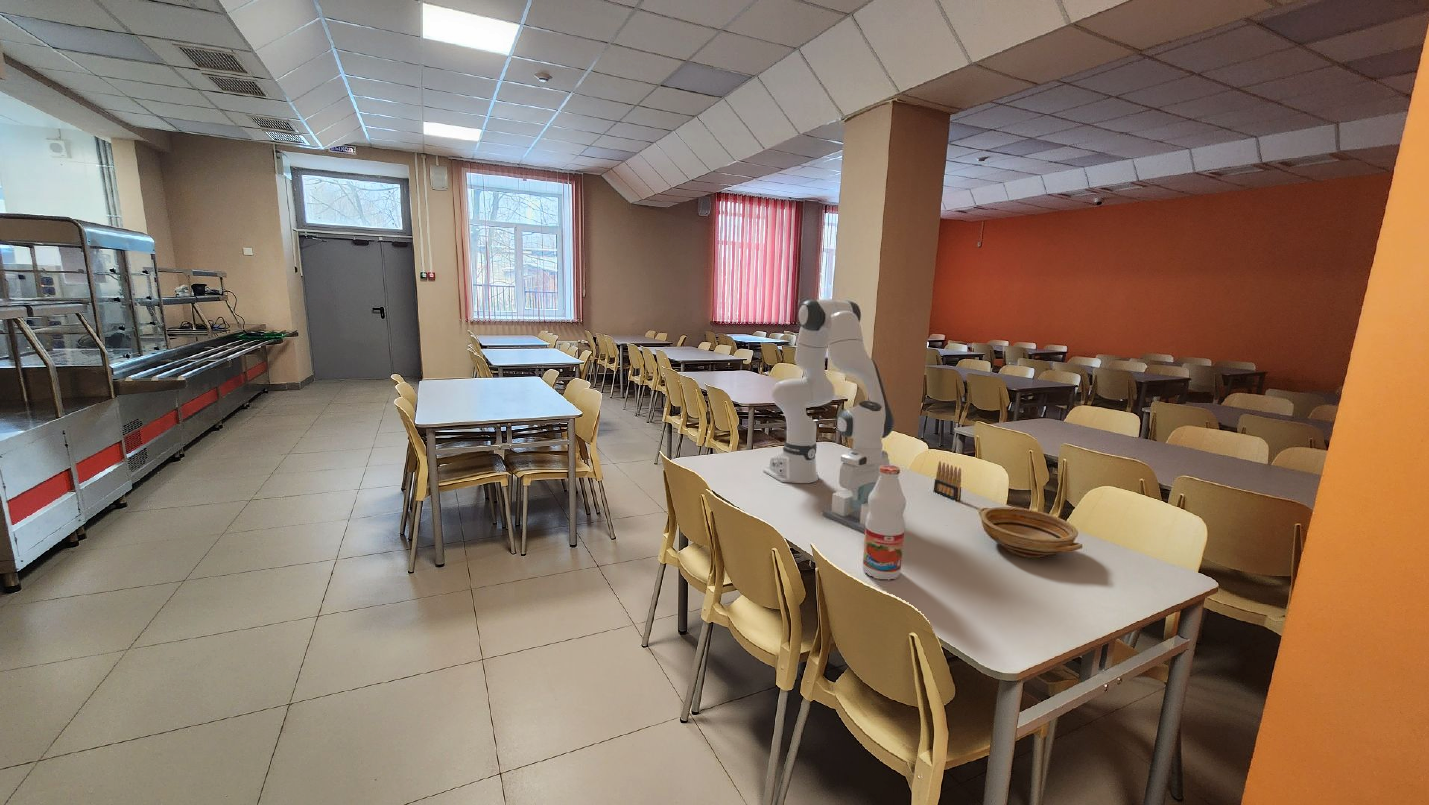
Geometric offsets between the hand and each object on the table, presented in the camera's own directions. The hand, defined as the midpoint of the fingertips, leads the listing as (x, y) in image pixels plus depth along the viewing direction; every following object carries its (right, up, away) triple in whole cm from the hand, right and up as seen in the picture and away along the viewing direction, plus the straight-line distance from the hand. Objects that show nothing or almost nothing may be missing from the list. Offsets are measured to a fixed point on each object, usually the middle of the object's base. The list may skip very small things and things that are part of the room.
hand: (863, 497), depth 176 cm
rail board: (0, -8, +2) cm, 8 cm away
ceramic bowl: (+41, -12, -16) cm, 46 cm away
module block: (0, -3, +1) cm, 3 cm away
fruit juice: (-4, -14, -32) cm, 35 cm away
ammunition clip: (+36, -4, +26) cm, 45 cm away
